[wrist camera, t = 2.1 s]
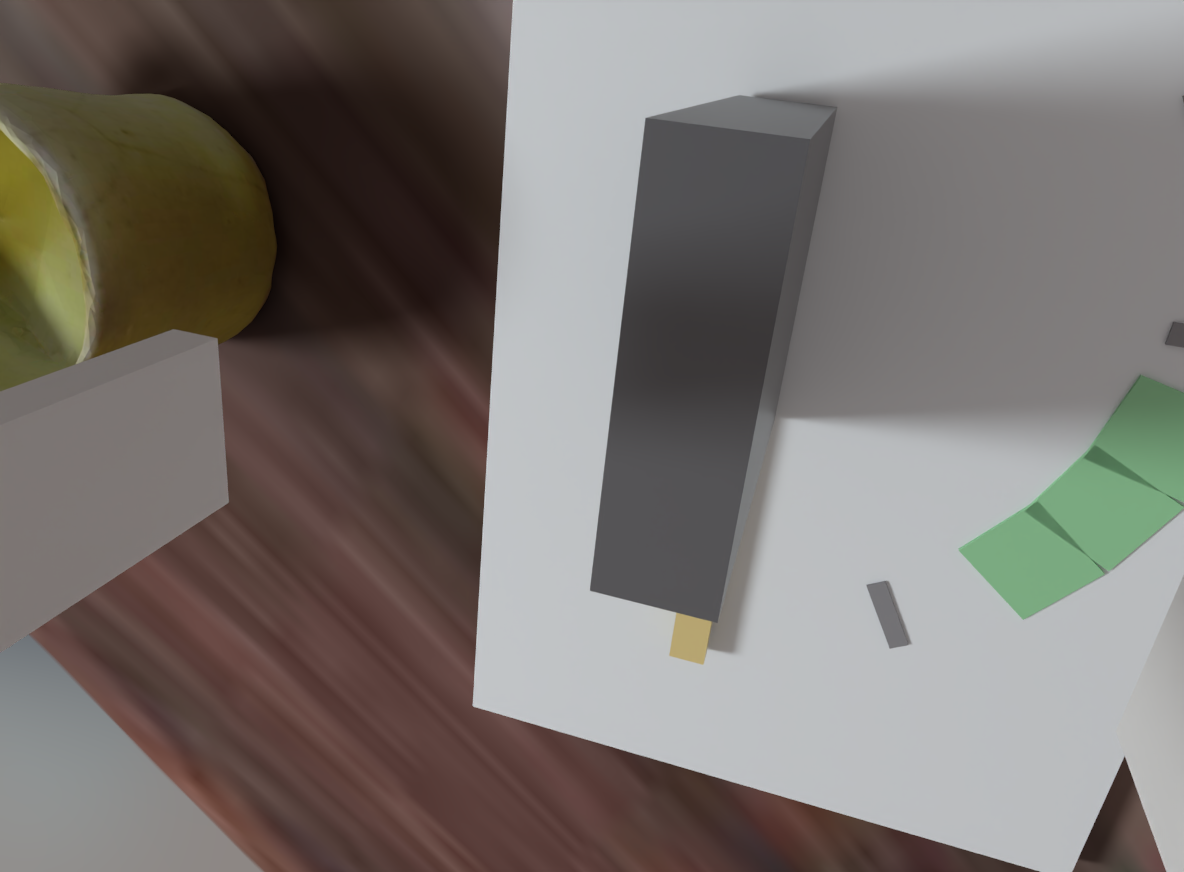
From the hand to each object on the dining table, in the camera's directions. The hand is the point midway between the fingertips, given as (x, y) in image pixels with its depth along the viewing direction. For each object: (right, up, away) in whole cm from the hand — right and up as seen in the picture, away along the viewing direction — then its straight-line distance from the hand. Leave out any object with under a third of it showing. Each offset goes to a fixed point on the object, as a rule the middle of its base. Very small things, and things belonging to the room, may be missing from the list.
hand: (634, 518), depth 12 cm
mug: (-17, +10, +20) cm, 28 cm away
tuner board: (+7, +1, +16) cm, 17 cm away
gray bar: (+4, +2, +15) cm, 16 cm away
